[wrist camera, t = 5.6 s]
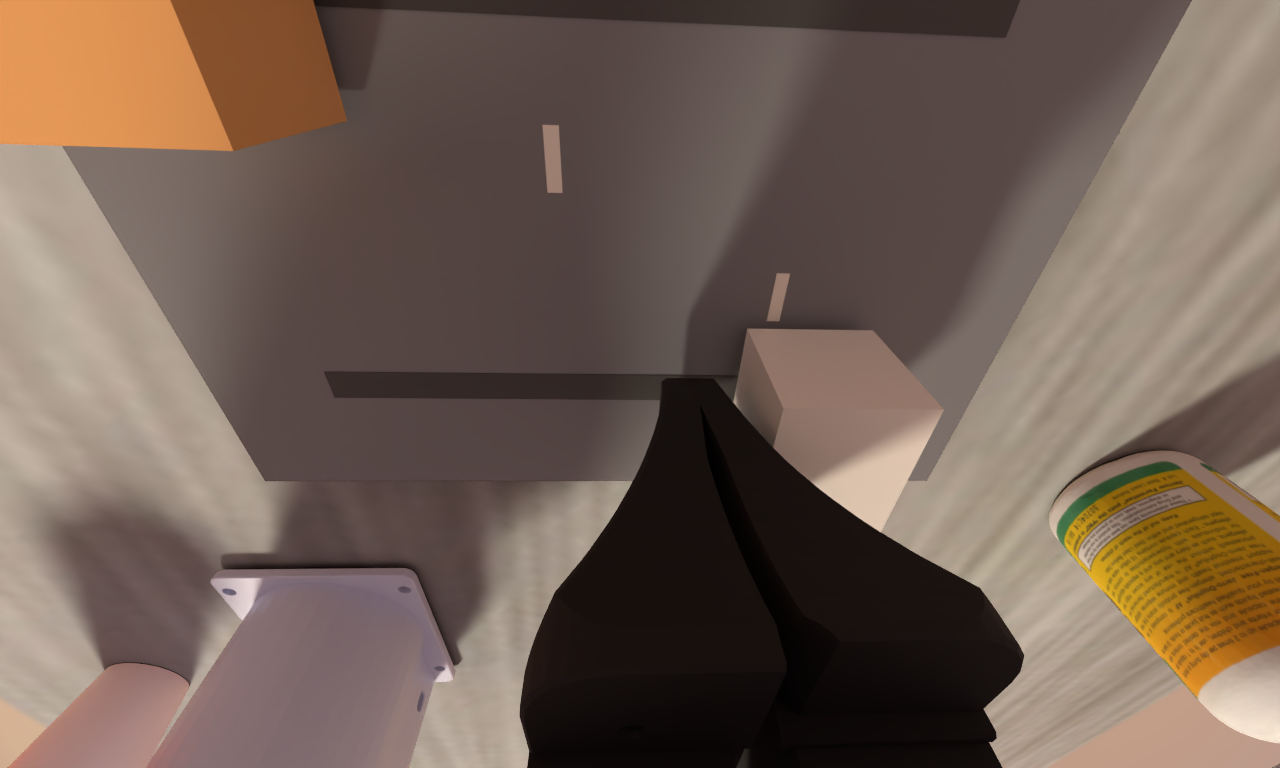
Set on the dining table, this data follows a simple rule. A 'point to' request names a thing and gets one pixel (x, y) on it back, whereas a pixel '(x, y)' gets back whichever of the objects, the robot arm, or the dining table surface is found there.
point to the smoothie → (111, 721)
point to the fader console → (619, 215)
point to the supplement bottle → (1187, 575)
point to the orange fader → (163, 73)
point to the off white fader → (838, 412)
